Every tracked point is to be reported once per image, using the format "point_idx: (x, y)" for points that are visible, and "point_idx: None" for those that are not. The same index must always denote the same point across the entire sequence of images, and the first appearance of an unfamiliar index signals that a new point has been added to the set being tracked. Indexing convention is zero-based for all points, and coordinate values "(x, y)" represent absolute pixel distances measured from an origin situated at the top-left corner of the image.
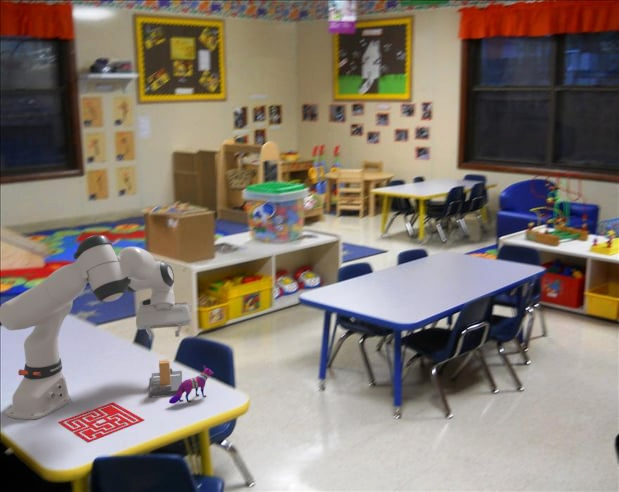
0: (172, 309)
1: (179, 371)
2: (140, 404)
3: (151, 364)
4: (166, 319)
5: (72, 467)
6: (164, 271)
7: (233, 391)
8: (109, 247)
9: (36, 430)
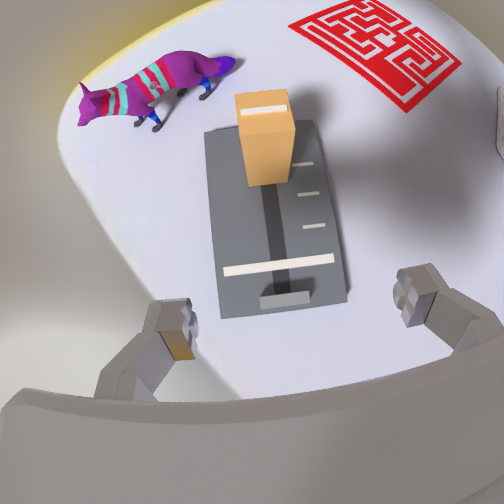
0: None
1: (229, 310)
2: (325, 88)
3: None
4: (289, 454)
5: None
6: None
7: (67, 160)
8: None
9: (473, 52)
